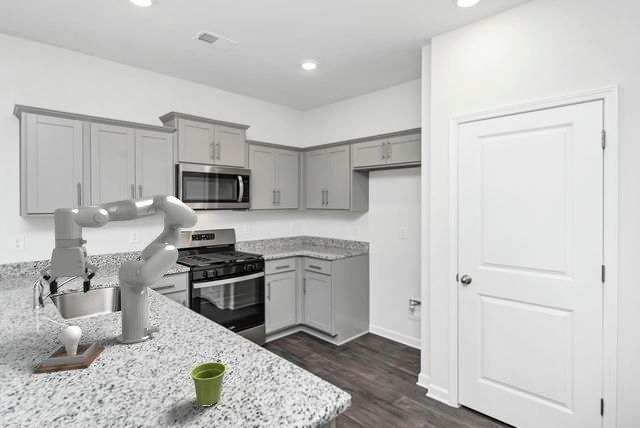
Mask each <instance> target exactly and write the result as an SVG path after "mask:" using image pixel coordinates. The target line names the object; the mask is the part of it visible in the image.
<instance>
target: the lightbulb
mask: <svg viewBox="0 0 640 428" xmlns="http://www.w3.org/2000/svg"><path fill="white" fill-rule="evenodd" d="M82 335H83V331H82V329H81V328H80V327H79V326H77V325H70V326H67V327H65V328H63V329H62V331H61V332H60V336H59V339H60V342H61V343H62V345H65V347H66V351H67V356H75V355H76V349H77V345H78V343H79V341H80V340H81V338H82Z"/></svg>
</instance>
